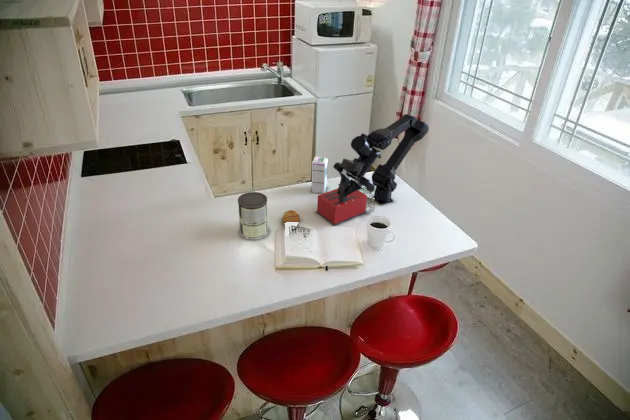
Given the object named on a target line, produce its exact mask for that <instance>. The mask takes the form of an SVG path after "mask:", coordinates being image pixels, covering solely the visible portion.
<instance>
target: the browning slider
mask: <svg viewBox="0 0 630 420" xmlns="http://www.w3.org/2000/svg"><path fill="white" fill-rule="evenodd" d="M348 186H349V185H348V184H346V183H345V182H343V183H340V182H339V183H338V188H339V187H340V189H339V200H340V201H341V202H346V201H347V196H345V197H342V195H343V193H344V191H345V190H346V189H347V187H348Z"/></svg>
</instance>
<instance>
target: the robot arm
mask: <svg viewBox="0 0 630 420" xmlns="http://www.w3.org/2000/svg"><path fill="white" fill-rule="evenodd" d="M429 129H430V127H429V124H428V122H426V121H423V120H420V119H419V118H417V117H416V116H414V115H412V114H408V113H405V114H403V115H402V117H401V118H399V119H397V120H395V121H394V122H393V123H391V124H390V125H388V126H386V127H385V128H378V129H375V130H373V131H371V132H370V133H368V134H366V133H361V134H360V135H357V136H355V137H354V138H352V139H351V142H350V148H352V150H353V151H354V152H355V153H356V154H357V155H358V157H355V158H353V160H352V159H348V158H343V159H342V161H341V162H339V161H338V162H335V163H334V165H333V166H332V168H334V170H335V171H337V172H338V173H339V176H340V182H339V184H340V183H343V182H345V183H346V184H348V185H349V186H348V187H347V189H346V190H345V191H344V193H343V195H342V197H345V196H347V195H349V194H351V193H353V192H355V191H357V190H359V191H360V190H363V189H364V188H363V187H365V190H366V191H367V192H369V193H373V192H374V194H373V196H372V197H374V198H375V200H374V201H375V202H377V203H378V204H379V205H381V206H382V205H385V204H386V205H387V204H390V203H393V202H394V200H393V198H392V193H393V192H395V190H396V189H397V186H398V184H397V182H396V181H395V179H396V171H397V169H398V168H399V166H400V165H401V163H402V162H403V161H404V159H405V158H406V156H407V155H408V153H409V152H410V150H411V149H412V148H413V146H414V144H416V143H417V142H419V141H421V140H423V138H424V137H425V136H426V135H427V134H428V133H429ZM402 133H404V136H403V137H402V139H401V140H400V142H399V143H398V145H397V146H396V148H395V149H394V151H393V152H392V153H391V155H390V157H389V158H388V159H387V161H386V162H385V163H383V164H381V163H380V164H378V165H377V166H376V168H375V170H373V172H372V174H371V179H368V178H366V177H365V175H366V174H367V173H368V172H371V170H372V169H371V167H372V166H373V164H374V163H375V162H376V160H377V159H381V158H382V155H381V152H382V151H384V150H386V149H387V148H388V147H389V146H390V145H392V141H393V140H394V139H395V138H396V137H398V136H400V135H401V134H402ZM381 150H382V151H381ZM339 189H340V187H339V186H338V192H337V193H338V194H339Z"/></svg>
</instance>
